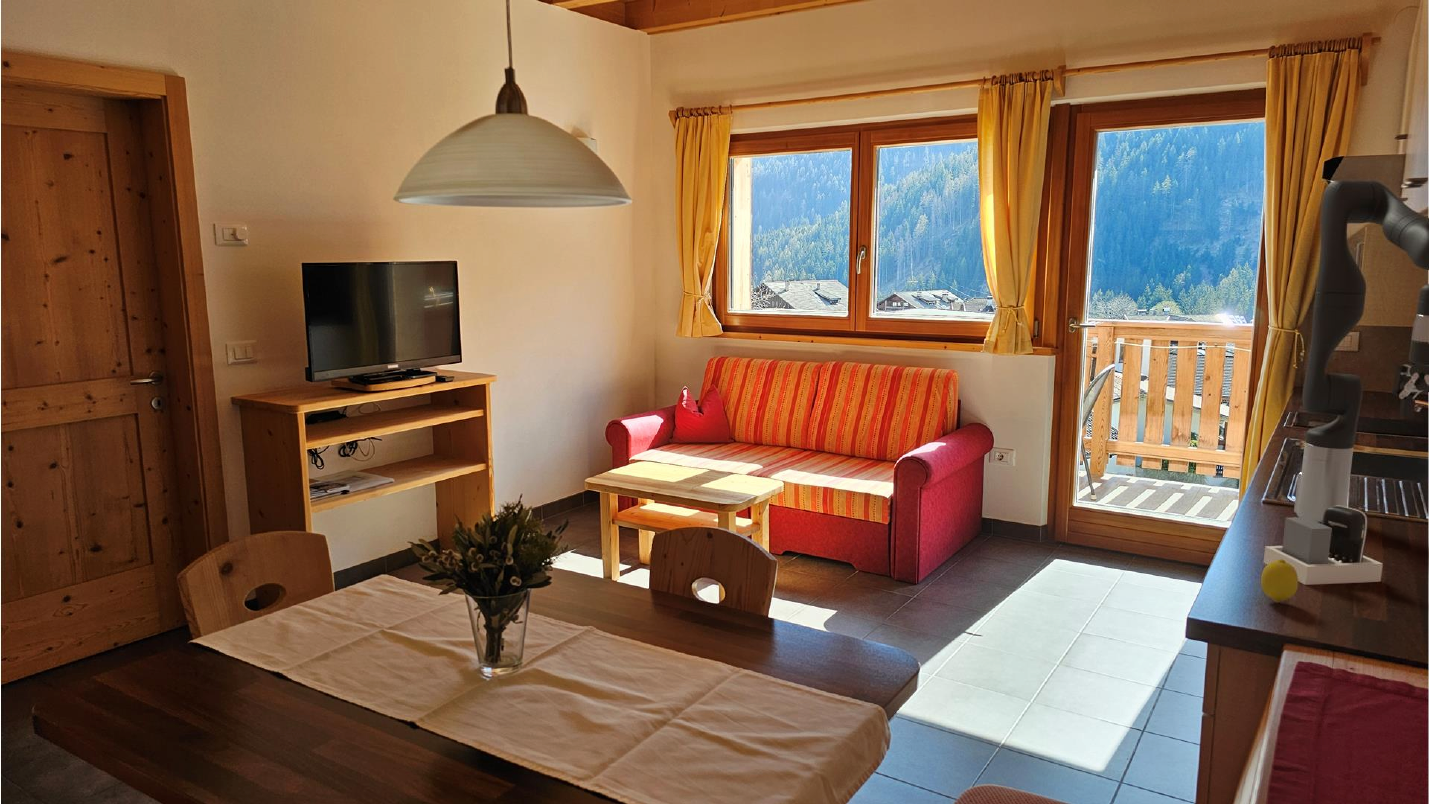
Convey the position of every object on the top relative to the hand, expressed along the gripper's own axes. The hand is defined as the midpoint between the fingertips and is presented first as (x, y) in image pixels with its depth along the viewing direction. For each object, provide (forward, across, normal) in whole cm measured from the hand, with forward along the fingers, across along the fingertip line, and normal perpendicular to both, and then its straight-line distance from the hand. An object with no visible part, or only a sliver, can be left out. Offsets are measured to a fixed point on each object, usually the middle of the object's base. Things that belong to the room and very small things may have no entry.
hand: (1424, 422), depth 182 cm
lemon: (+28, -17, +40) cm, 52 cm away
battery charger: (+27, -4, +18) cm, 33 cm away
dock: (+28, -4, +21) cm, 36 cm away
